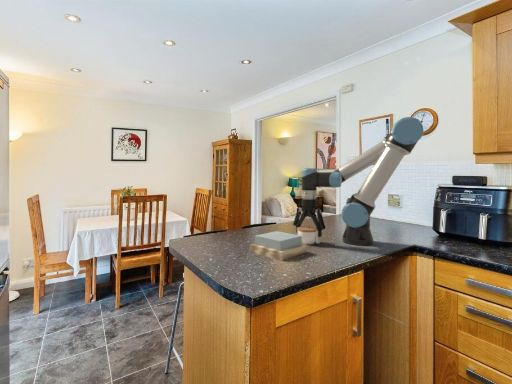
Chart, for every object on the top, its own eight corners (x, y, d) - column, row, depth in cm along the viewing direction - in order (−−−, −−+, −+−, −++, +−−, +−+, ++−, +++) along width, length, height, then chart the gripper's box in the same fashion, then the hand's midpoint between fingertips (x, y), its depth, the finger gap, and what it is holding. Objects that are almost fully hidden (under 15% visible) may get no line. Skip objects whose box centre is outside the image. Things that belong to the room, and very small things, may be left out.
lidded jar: (294, 241, 144) (294, 224, 144) (311, 239, 148) (311, 222, 148) (305, 246, 134) (305, 227, 134) (323, 244, 138) (323, 225, 138)
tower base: (306, 253, 124) (306, 244, 124) (281, 262, 112) (281, 252, 111) (276, 246, 137) (276, 238, 137) (250, 253, 124) (250, 244, 124)
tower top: (301, 244, 124) (301, 235, 124) (280, 250, 114) (280, 241, 114) (276, 239, 135) (276, 231, 135) (254, 244, 125) (254, 235, 124)
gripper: (286, 197, 146) (286, 238, 147) (325, 200, 129) (324, 246, 130) (295, 197, 151) (294, 236, 152) (333, 199, 135) (332, 243, 136)
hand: (308, 241), depth 141 cm, fingers closed on lidded jar, 11 cm apart
